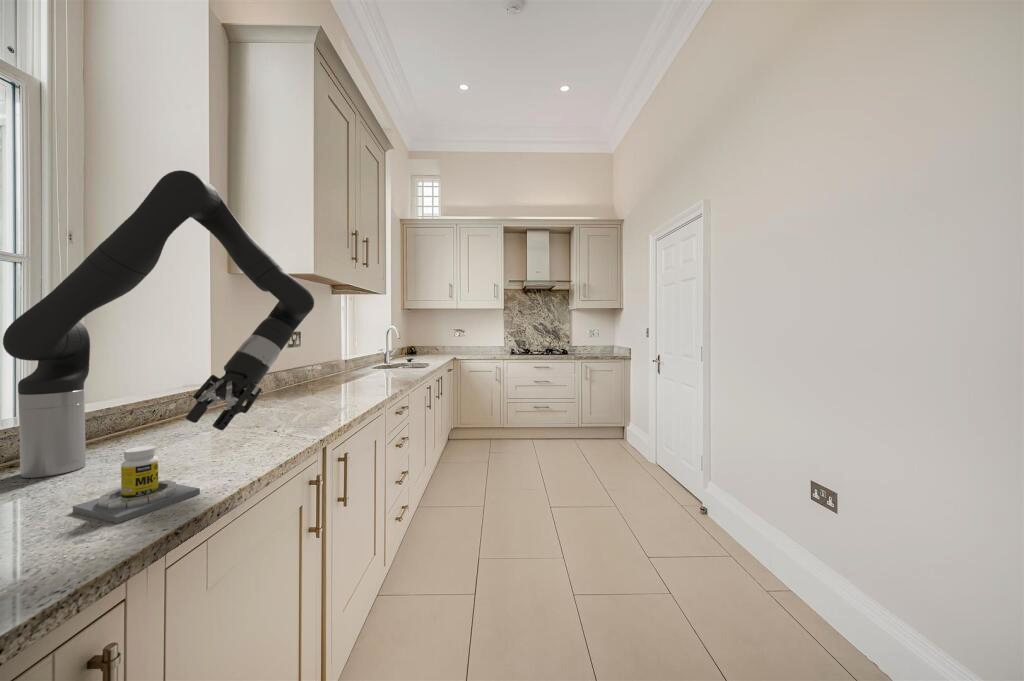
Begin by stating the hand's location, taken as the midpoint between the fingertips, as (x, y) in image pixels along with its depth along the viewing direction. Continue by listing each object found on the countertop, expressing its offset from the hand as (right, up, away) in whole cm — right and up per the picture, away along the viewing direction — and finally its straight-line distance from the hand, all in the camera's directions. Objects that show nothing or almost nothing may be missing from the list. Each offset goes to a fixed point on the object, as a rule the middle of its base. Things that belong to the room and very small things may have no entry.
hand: (203, 424), depth 80 cm
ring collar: (-2, -11, -12) cm, 16 cm away
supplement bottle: (-2, -10, -11) cm, 15 cm away
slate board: (-2, -11, -12) cm, 16 cm away
